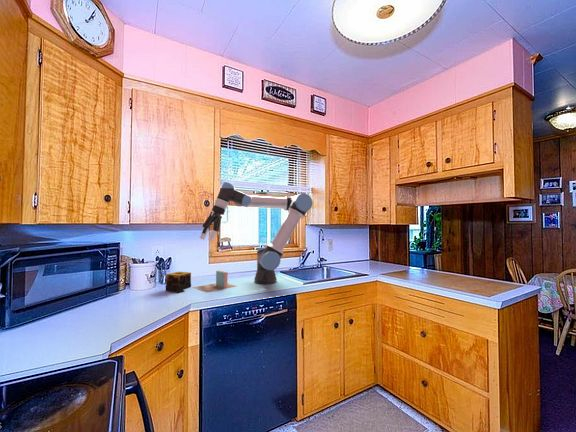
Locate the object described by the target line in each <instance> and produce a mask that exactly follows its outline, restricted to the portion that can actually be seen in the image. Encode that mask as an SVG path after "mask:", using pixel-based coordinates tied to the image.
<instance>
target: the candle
mask: <svg viewBox="0 0 576 432" xmlns="http://www.w3.org/2000/svg"><path fill="white" fill-rule="evenodd" d="M165 276H166V279H165V281H166V282H165V292H168V293H169V292H170V293H174V294H175V293H176V294H181V293H183V292H185V290H186V289H189V288H191V287H192V272H187V271H173V272H170V273H165Z"/></svg>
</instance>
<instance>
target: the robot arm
mask: <svg viewBox="0 0 576 432" xmlns="http://www.w3.org/2000/svg"><path fill="white" fill-rule="evenodd" d="M214 201H215V202H214V204H213V206H212V209H211V212H210V213H209V215H208V217H207V218H206V219H205V221H204V223H203V224H202V227H203V229H202V231H201V233H200V236H199V239H200V240H203V241H204V240H205V238H206V237H207V233H208V232H209V228H210V227H211V226H212V230H211V232H210V234H209V236H208V239H207V240H209V241H210V242H213V241H214V238H215V237H216V234H217V233H218V232H219V231H220V226H221V225H220V224H221V222H222V218H223V215H225V213H226V209H227V207H228V206H229V202H233V203H234V205H235V206H237V207H246V208H249V207H251V208H268V209H283V210H284V211H288V213H287V214H286V216H285V218H284V219H283V222H282V224H281V225H280V227H279V228H278V231H277V233H276V234H275V236H274V238H273V239H272V241H271V242H270V244H267V245H266V247H265V246H264V247H258V248H257V251H256V253H257V255H256V271H255V272H256V273H255V275H254V276H255V277H254V278H253V280H254V283H256V284H263V285H266V284H274V283H277V280H278V279H277V276H276V275H277V274H276V272H275V270H276V269H277V268H278V267H279V266H280V264H281V259H282V257H283V255H284V251H283V250H284V249H285V247H286V245H287V243H288V241H289V240H290V238H291V236H292V235H293V233H294V230H295V229H296V227H297V226H298V224H299V222H300V220H301V219H302V218H304V217H305V216H306V214H307V212H308V211H310V210H311V209H312V206H313V198H312V197H311V196H310V195H309V194H307V193H298V194H296V195H293V196H284V197H276V196H275V197H274V196H262V195H261V196H260V195H249V194H246V193H244V192H242V191H239V190H236V186H235V185H234V184H232V183H229V182H225V181H224V182H223V183H222V185H221V188H220V190H219V192H218V194H217V197H216V199H215V200H214ZM212 224H213V225H212Z"/></svg>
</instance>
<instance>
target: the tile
mask: <svg viewBox="0 0 576 432" xmlns="http://www.w3.org/2000/svg"><path fill="white" fill-rule="evenodd" d="M215 272H216V273H215V283H216V286H219V287H222V288H227V283H228V275H229V274H228V272H227V271H223V270H216V271H215ZM227 289H228V288H227Z"/></svg>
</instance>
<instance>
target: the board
mask: <svg viewBox="0 0 576 432" xmlns="http://www.w3.org/2000/svg"><path fill="white" fill-rule="evenodd" d="M191 287H192V286H191ZM192 288H193V289H196V290H198V291H201V292H204V293H206V294H207V293H212V292H216V291H221V290H225V289H230V288H237V285H235V284H232V283H228V282H227V288H222V287H219V286H216V282H215V283H209V284H204V285H199V286H193V287H192Z"/></svg>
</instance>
